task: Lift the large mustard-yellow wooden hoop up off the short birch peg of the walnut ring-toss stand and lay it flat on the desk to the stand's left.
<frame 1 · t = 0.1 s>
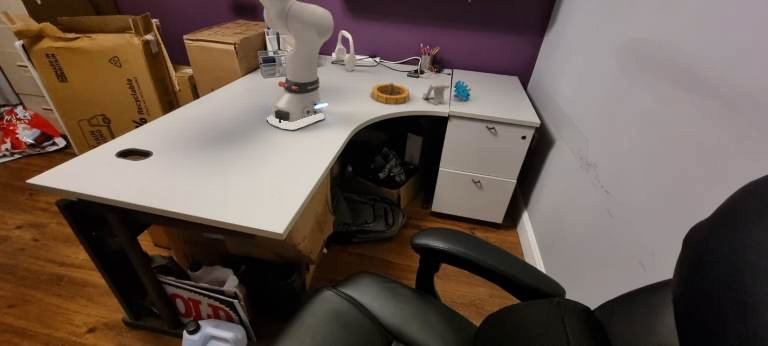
gear: (461, 98, 153), on the table
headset: (345, 66, 179), on the table
tablet stand: (435, 101, 148), on the table
ring stand: (390, 96, 148), on the table
mustard ring: (390, 96, 148), on the table
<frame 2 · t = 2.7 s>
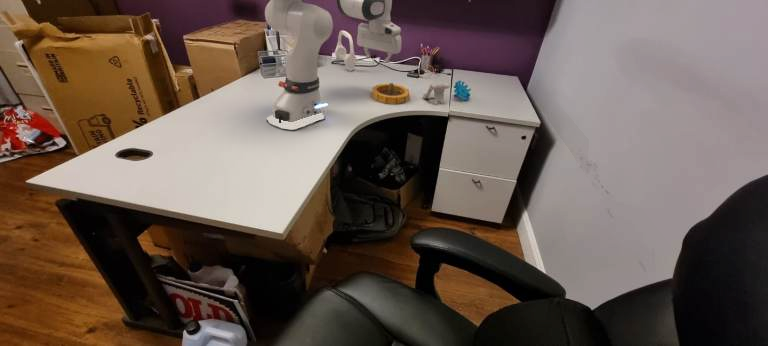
hand: (377, 60, 142), 15 cm above the table, tool pointing down, fingers open, 8 cm apart
nothing on the table moved.
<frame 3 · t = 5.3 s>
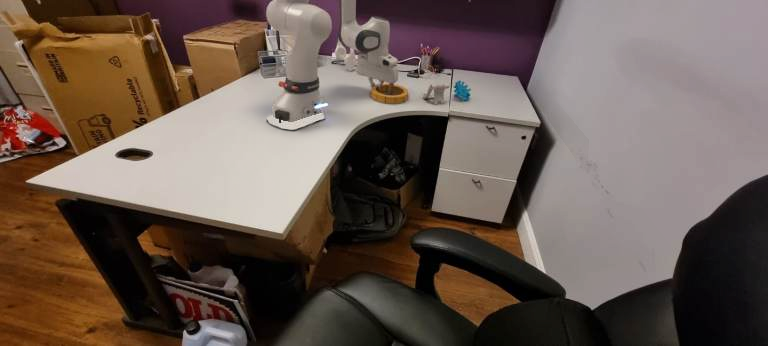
hand: (375, 88, 149), 2 cm above the table, tool pointing down, fingers closed on mustard ring, 2 cm apart
mustard ring: (389, 96, 148), on the table, touching gripper
everything else where it was.
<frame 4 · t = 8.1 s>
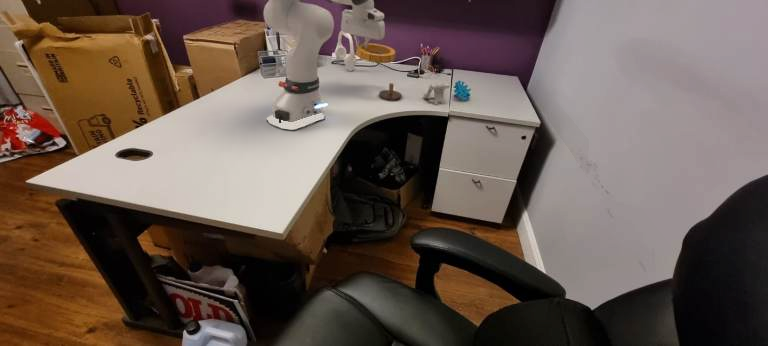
hand: (361, 46, 142), 19 cm above the table, tool pointing down, fingers closed on mustard ring
mustard ring: (375, 56, 141), point 16 cm above the table, touching gripper
everything else where it was.
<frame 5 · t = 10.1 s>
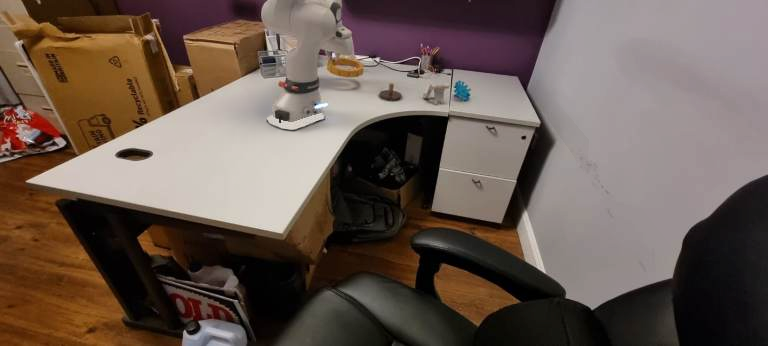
hand: (332, 61, 153), 10 cm above the table, tool pointing down, fingers closed on mustard ring
mustard ring: (345, 70, 152), point 7 cm above the table, touching gripper
everything else where it was.
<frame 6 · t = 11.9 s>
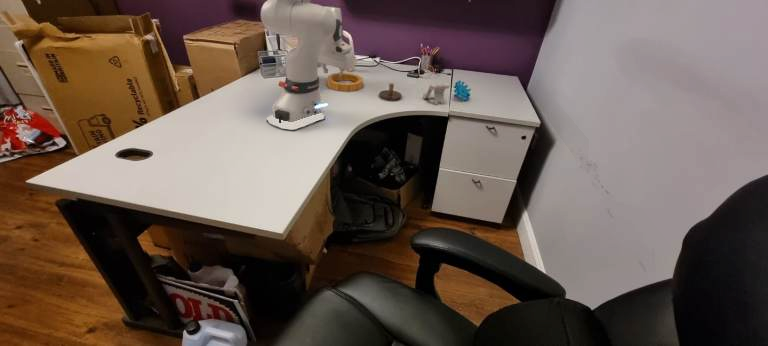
hand: (332, 74, 156), 3 cm above the table, tool pointing down, fingers open, 7 cm apart
mustard ring: (345, 84, 156), on the table
everything else where it was.
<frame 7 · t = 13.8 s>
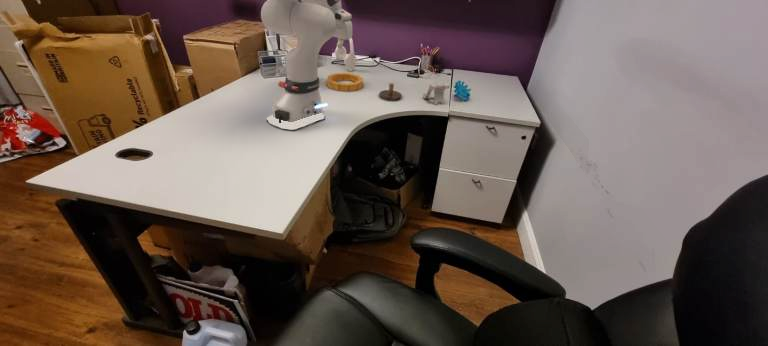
hand: (331, 46, 147), 17 cm above the table, tool pointing down, fingers open, 8 cm apart
nothing on the table moved.
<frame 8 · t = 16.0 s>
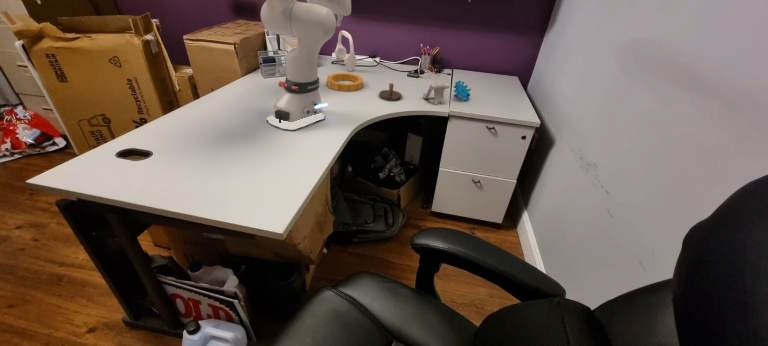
hand: (328, 24, 137), 27 cm above the table, tool pointing down, fingers open, 8 cm apart
nothing on the table moved.
at the end: mustard ring inside the target area (1.2 cm from its centre), on the table; mustard ring tilted 0°; mustard ring touching table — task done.
